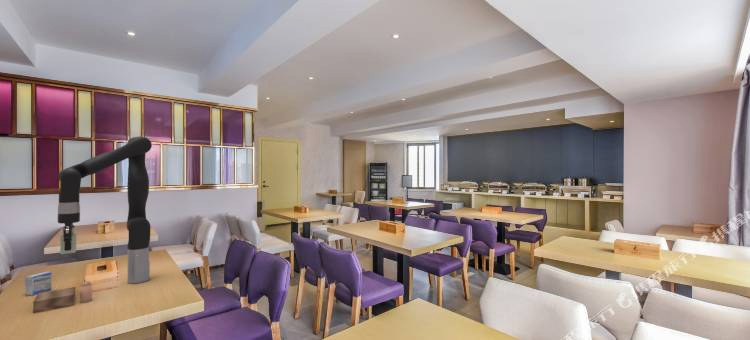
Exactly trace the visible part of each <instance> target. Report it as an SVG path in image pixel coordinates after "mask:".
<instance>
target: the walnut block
mask: <svg viewBox="0 0 750 340" xmlns="http://www.w3.org/2000/svg"><path fill="white" fill-rule="evenodd" d="M75 300H76V286H73V287H67V288H62V289H57V290H56V289H55V290H49V291H45V292H42V293H38V294H36V295H35V298H34V300H33V302H32V303H33V309H32V310H33V311H32V312H33V314H36V313H42V312H47V311H51V310H56V309H58V310H59V309H62V308H69V307H73V306H74V304H75Z"/></svg>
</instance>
